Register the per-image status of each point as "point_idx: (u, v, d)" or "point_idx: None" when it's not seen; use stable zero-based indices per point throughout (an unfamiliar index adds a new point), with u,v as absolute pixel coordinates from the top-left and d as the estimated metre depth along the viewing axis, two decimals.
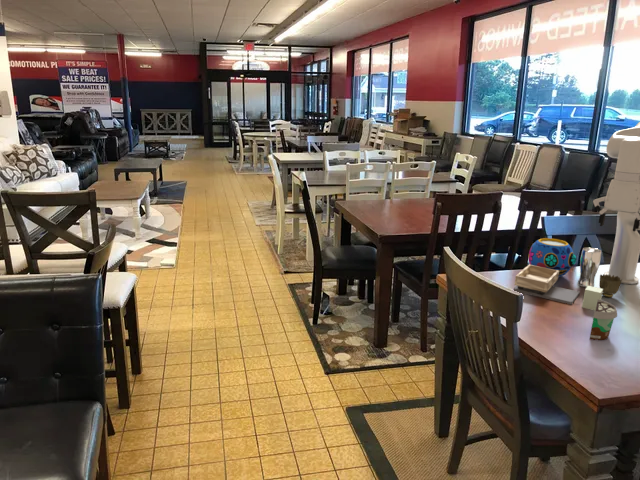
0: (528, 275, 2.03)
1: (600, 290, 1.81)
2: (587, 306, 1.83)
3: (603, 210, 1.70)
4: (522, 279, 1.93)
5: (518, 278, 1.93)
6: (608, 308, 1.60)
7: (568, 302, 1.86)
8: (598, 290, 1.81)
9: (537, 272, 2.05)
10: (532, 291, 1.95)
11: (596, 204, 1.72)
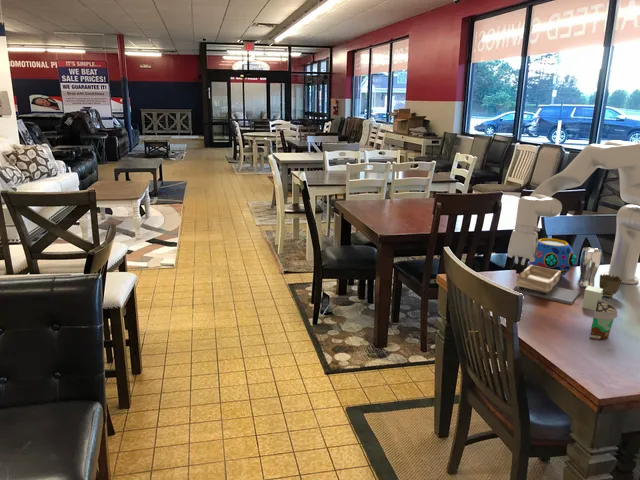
0: (530, 275, 2.03)
1: (600, 290, 1.81)
2: (587, 306, 1.83)
3: (516, 259, 2.00)
4: (524, 279, 1.92)
5: (520, 278, 1.93)
6: (608, 308, 1.60)
7: (568, 302, 1.86)
8: (598, 290, 1.81)
9: (539, 272, 2.05)
10: (532, 291, 1.95)
11: (511, 256, 2.02)
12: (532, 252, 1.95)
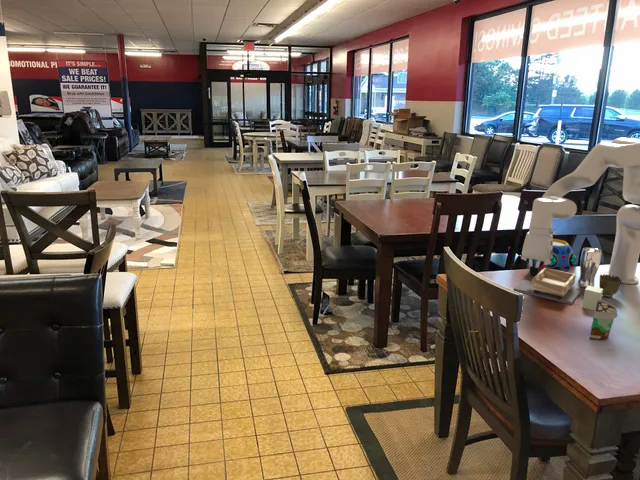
0: (544, 278, 2.00)
1: (600, 290, 1.81)
2: (587, 306, 1.83)
3: (530, 262, 1.97)
4: (539, 283, 1.89)
5: (534, 282, 1.90)
6: (608, 308, 1.60)
7: (568, 302, 1.86)
8: (598, 290, 1.81)
9: (553, 275, 2.02)
10: (532, 291, 1.95)
11: (525, 258, 1.98)
12: (547, 255, 1.92)
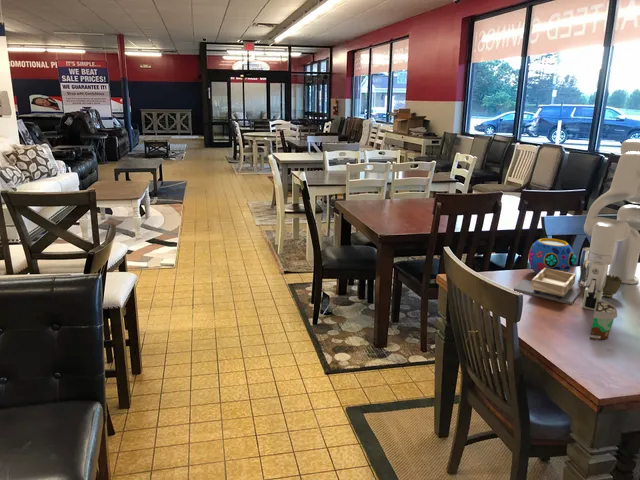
0: (544, 278, 2.00)
1: None
2: None
3: None
4: (539, 283, 1.89)
5: (534, 282, 1.90)
6: (608, 308, 1.60)
7: (568, 302, 1.86)
8: (598, 290, 1.81)
9: (553, 275, 2.02)
10: (532, 291, 1.95)
11: None
12: (587, 281, 1.79)
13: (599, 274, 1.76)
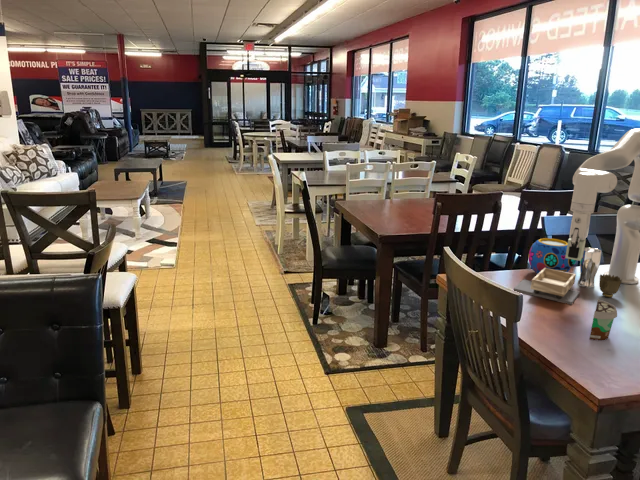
0: (544, 278, 2.00)
1: (583, 240, 1.83)
2: None
3: None
4: (539, 283, 1.89)
5: (534, 282, 1.90)
6: (608, 308, 1.60)
7: (568, 302, 1.86)
8: (581, 240, 1.83)
9: (553, 275, 2.02)
10: (532, 291, 1.95)
11: None
12: (570, 231, 1.81)
13: (581, 223, 1.78)
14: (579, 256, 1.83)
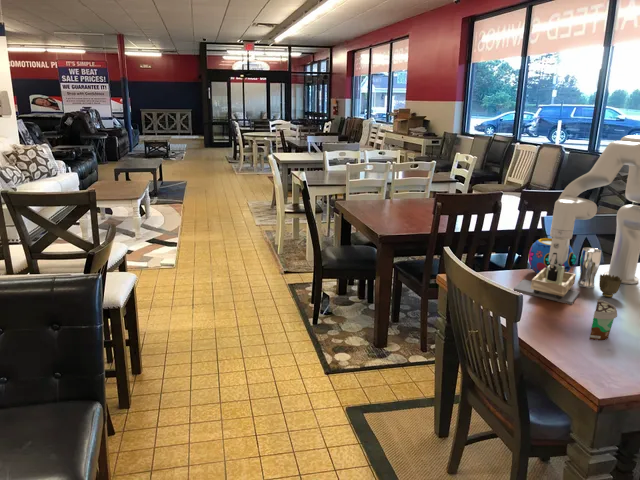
0: (544, 278, 2.00)
1: (561, 267, 1.92)
2: None
3: None
4: (539, 283, 1.89)
5: (534, 282, 1.90)
6: (608, 308, 1.60)
7: (568, 302, 1.86)
8: (559, 267, 1.92)
9: None
10: (532, 291, 1.95)
11: None
12: (549, 255, 1.89)
13: (560, 248, 1.86)
14: (557, 283, 1.91)
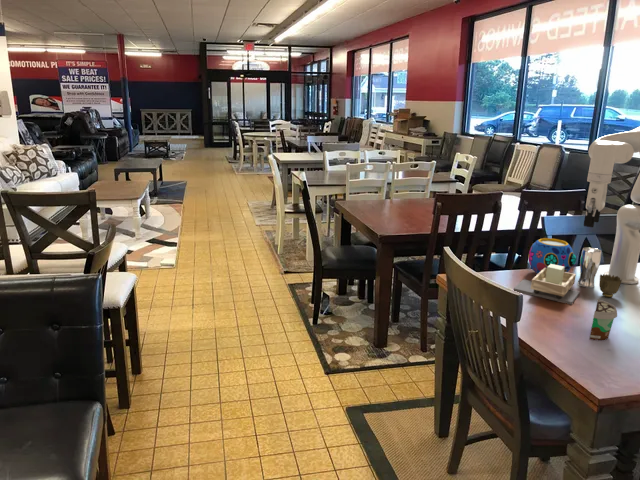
0: (544, 278, 2.00)
1: (561, 267, 1.92)
2: None
3: None
4: (539, 283, 1.89)
5: (534, 282, 1.90)
6: (608, 308, 1.60)
7: (568, 302, 1.86)
8: (559, 267, 1.92)
9: None
10: (532, 291, 1.95)
11: None
12: (586, 201, 1.82)
13: (598, 193, 1.79)
14: (557, 283, 1.91)
